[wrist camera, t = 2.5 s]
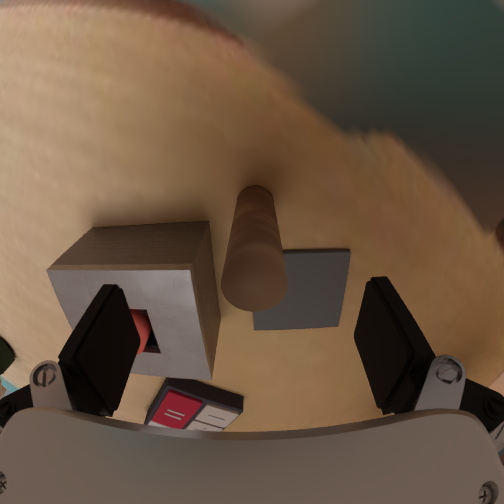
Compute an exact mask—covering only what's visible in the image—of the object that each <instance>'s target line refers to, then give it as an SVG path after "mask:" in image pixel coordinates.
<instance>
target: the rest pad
mask: <svg viewBox="0 0 504 504" xmlns="http://www.w3.org/2000/svg"><path fill="white" fill-rule="evenodd" d="M350 254H351V252H350V250H349V249H331V250H289V251H283V256H284V262H285V268H286V274H287V280H288V289H287V292H286V294H285V296H284V298H283V299H282V300H281V301H280V302H279V303H278V304H277V305H276V306H274V307H272V308H270V309H268V310H264V311H258V312H253V313H254V330H285V329H306V328H323V327H337V326H338V324H339V319H340V314H341V309H342V304H343V298H344V292H345V287H346V281H347V274H348V268H349V261H350Z"/></svg>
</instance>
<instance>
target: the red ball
mask: <svg viewBox="0 0 504 504" xmlns="http://www.w3.org/2000/svg"><path fill="white" fill-rule="evenodd" d="M130 311H131V314H132V317H133V320H134V322H135V325H136V328H137V330H138V333H139V335H140V339H141V343H140V347H139V350H138V352H137V355H138V354H140V353H142V351H143V350H144V347H145V345H146V342H147V340H148V337H149V335H150V332H151V330H152V325H151V322H150V319H149V316H148V313H147V309H130Z"/></svg>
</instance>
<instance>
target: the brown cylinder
mask: <svg viewBox="0 0 504 504" xmlns="http://www.w3.org/2000/svg"><path fill="white" fill-rule="evenodd" d="M221 288H222V292H223V294H224V296H225V298H226V299H227V300H228V301H229V302H230V303H231V304H232V305H234V306H235V307H237V308H239V309H242V310H245V311H251V312H258V311H264V310H268V309H270V308H272V307H274V306H276V305H277V304H278V303H279V302H280V301H281V300H282V299H283V298H284V296H285V294H286V292H287V289H288V280H287V274H286V268H285V262H284V256H283V251H282V245H281V239H280V234H279V228H278V223H277V217H276V212H275V207H274V202H273V197H272V195H271V193H270V192H269V191H268V190H267V189H266V188H264V187H262V186H257V185H254V186H249V187H247V188H245V189H244V190H242V191H241V193H240V194H239V196H238V199H237V204H236V209H235V214H234V218H233V223H232V228H231V233H230V238H229V243H228V248H227V253H226V259H225V264H224V269H223V274H222V280H221Z"/></svg>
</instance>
